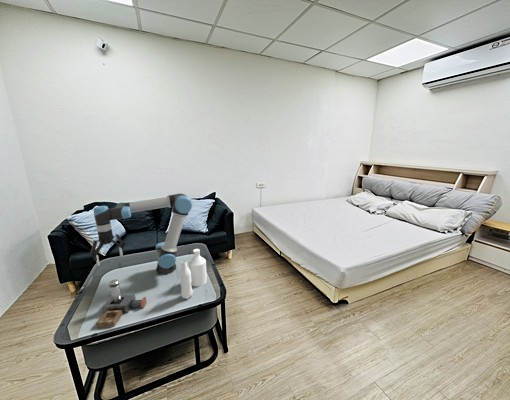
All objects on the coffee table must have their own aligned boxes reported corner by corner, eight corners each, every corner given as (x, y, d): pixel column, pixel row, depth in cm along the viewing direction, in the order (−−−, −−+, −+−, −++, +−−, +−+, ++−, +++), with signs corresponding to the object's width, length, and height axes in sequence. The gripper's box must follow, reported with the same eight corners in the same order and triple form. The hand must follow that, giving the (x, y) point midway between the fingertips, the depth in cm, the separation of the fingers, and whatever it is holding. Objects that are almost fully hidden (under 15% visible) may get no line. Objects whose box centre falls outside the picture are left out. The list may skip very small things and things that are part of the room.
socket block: (135, 301, 137) (134, 294, 136) (128, 312, 127) (126, 305, 126) (112, 302, 136) (111, 296, 135) (103, 314, 126) (101, 307, 125)
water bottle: (183, 293, 144) (179, 259, 138) (193, 292, 145) (190, 258, 139) (180, 300, 137) (176, 265, 132) (191, 299, 138) (188, 264, 132)
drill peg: (124, 304, 134) (120, 279, 130) (120, 310, 129) (115, 283, 125) (116, 305, 134) (111, 279, 130) (112, 310, 129) (107, 284, 125)
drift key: (146, 302, 135) (145, 297, 134) (143, 307, 131) (142, 301, 130) (132, 303, 134) (131, 298, 133) (129, 308, 130) (128, 302, 129)
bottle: (199, 275, 165) (197, 245, 159) (210, 280, 158) (208, 249, 153) (187, 283, 155) (184, 251, 150) (198, 288, 149) (195, 255, 143)
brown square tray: (122, 314, 126) (122, 309, 125) (114, 326, 117) (113, 321, 117) (106, 315, 125) (105, 311, 125) (97, 327, 117) (96, 323, 116)
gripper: (123, 223, 149) (128, 251, 153) (78, 235, 129) (85, 266, 134) (128, 225, 144) (132, 254, 149) (82, 237, 125) (89, 270, 130)
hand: (110, 260), depth 142 cm, fingers open, 13 cm apart
